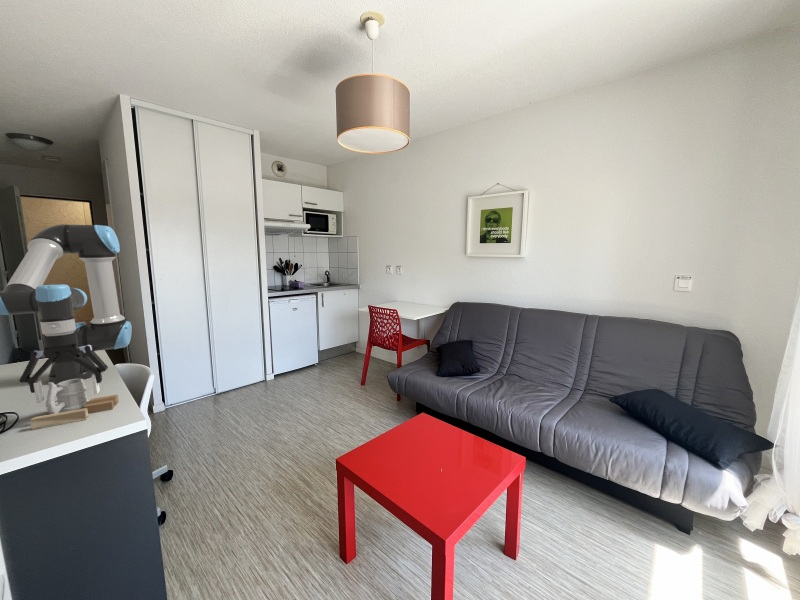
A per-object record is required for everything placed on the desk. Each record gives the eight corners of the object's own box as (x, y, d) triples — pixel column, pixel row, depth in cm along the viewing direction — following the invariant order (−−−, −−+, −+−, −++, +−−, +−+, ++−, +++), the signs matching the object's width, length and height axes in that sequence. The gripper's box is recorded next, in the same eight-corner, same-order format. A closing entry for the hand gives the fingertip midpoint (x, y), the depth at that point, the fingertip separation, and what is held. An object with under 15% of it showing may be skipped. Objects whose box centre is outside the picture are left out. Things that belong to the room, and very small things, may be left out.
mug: (96, 404, 112) (91, 371, 111) (63, 421, 101) (57, 384, 99) (73, 405, 112) (68, 372, 110) (37, 422, 100) (30, 385, 99)
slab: (92, 407, 111) (91, 398, 111) (118, 402, 115) (117, 394, 114) (84, 415, 105) (83, 406, 105) (112, 410, 109) (111, 401, 108)
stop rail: (35, 426, 98) (33, 417, 97) (88, 417, 103) (87, 408, 103) (31, 429, 96) (30, 420, 96) (86, 419, 102) (84, 410, 101)
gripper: (-5, 341, 94) (7, 410, 97) (107, 330, 106) (115, 392, 109) (9, 335, 101) (21, 400, 104) (113, 326, 113) (121, 385, 115)
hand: (69, 396), depth 106 cm, fingers open, 13 cm apart
